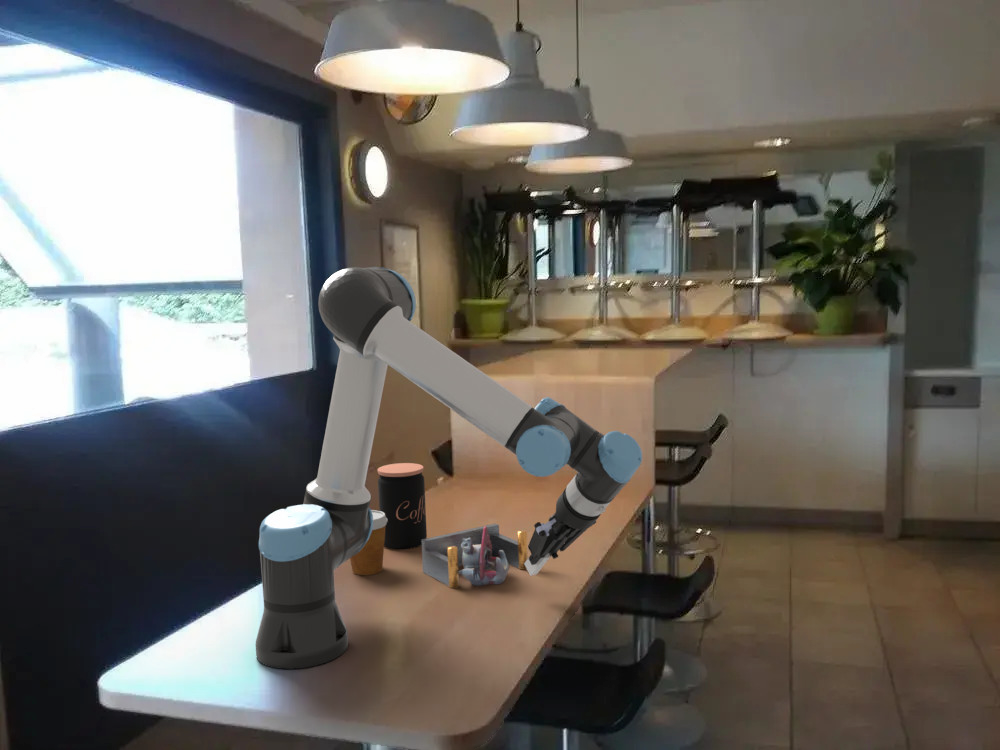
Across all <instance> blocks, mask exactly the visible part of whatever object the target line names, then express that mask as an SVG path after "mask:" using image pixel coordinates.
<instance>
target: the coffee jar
mask: <svg viewBox="0 0 1000 750" xmlns="http://www.w3.org/2000/svg"><path fill="white" fill-rule="evenodd" d="M424 469H425V467H424V466H423V465H422V464H419V463H412V462H404V463H403V462H399V463H392V464H391V463H389V464H386V465H382V466H380V467H378V468H377V469H376V470H377V474H378V475H379V478H378V479H377V488H378V489H377V492H378V493H377V494H378V507H379V508H378V509H379V510H378V511H382V512H384V513H385V516H386V518H387V520H388V521H387V523H386V526H385V540H384V548H387V549H391V550H398V551H399V550H404V551H405V550H411V549H416V548H418V547H422V539H427V538H428V535H427V534H428V532H427V512H426V511H427V507H426V491H425V489H426V488H425V477H424V475H423V472H424Z"/></svg>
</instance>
